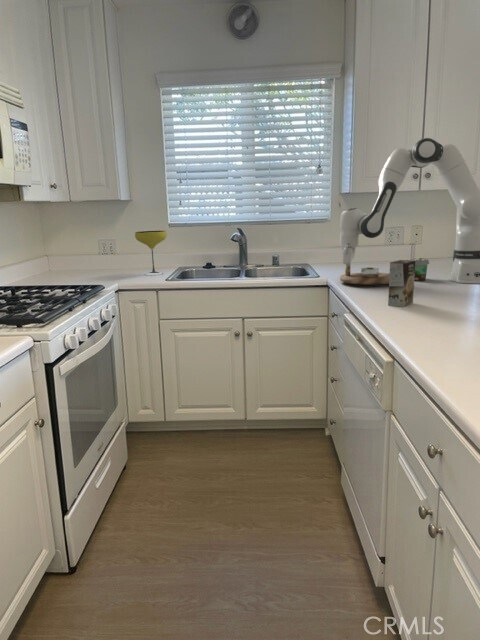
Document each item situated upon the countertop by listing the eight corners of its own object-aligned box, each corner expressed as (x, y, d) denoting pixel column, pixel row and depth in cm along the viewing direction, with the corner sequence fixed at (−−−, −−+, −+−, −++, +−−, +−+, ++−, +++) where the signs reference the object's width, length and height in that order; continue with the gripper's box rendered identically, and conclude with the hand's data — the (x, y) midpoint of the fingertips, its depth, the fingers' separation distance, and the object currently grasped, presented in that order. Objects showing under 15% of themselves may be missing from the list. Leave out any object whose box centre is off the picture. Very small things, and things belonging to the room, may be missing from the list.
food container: (423, 282, 220) (424, 261, 218) (410, 281, 224) (411, 260, 221) (431, 278, 230) (432, 258, 227) (418, 278, 233) (419, 257, 231)
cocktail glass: (163, 276, 270) (160, 232, 264) (133, 276, 273) (130, 233, 267) (173, 271, 287) (170, 230, 281) (144, 272, 290) (141, 231, 284)
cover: (380, 276, 224) (381, 267, 223) (375, 278, 217) (376, 269, 216) (364, 275, 228) (364, 266, 227) (358, 277, 221) (359, 268, 220)
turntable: (407, 276, 228) (407, 265, 227) (392, 286, 205) (393, 273, 204) (350, 274, 242) (351, 263, 241) (331, 282, 219) (331, 271, 218)
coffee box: (404, 307, 171) (406, 263, 168) (387, 305, 175) (389, 262, 172) (413, 302, 178) (415, 260, 174) (397, 301, 182) (398, 259, 178)
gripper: (353, 244, 217) (352, 274, 220) (357, 240, 236) (356, 268, 239) (340, 244, 219) (339, 274, 222) (344, 240, 238) (343, 268, 241)
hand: (348, 271), depth 231 cm, fingers closed
